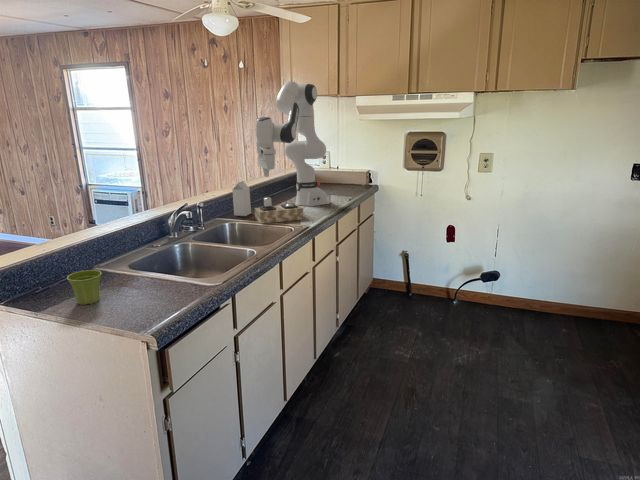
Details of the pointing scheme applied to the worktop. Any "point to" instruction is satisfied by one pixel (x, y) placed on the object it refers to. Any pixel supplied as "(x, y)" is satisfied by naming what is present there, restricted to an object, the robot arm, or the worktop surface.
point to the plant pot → (85, 286)
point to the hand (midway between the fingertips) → (266, 176)
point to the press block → (278, 213)
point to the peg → (267, 203)
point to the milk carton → (241, 199)
